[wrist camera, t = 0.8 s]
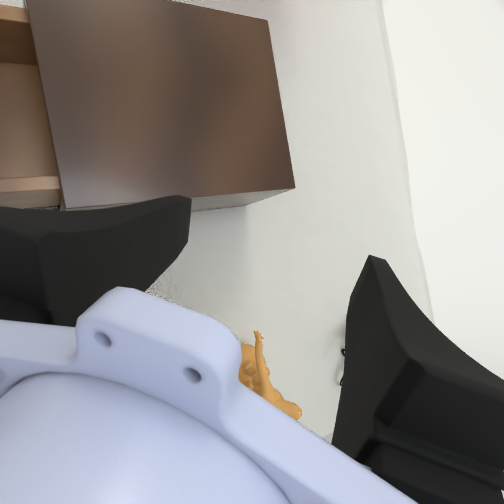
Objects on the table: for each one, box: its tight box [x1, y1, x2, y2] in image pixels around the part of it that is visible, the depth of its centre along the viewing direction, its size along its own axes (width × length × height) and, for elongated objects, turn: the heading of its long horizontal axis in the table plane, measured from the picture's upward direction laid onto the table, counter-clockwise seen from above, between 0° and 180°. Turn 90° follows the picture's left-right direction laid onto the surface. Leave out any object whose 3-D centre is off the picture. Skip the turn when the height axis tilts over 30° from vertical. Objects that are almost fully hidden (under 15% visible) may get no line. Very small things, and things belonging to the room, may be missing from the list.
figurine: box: [238, 331, 302, 421], centre depth 26 cm, size 8×6×12 cm
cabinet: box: [22, 0, 295, 212], centre depth 26 cm, size 16×13×8 cm
